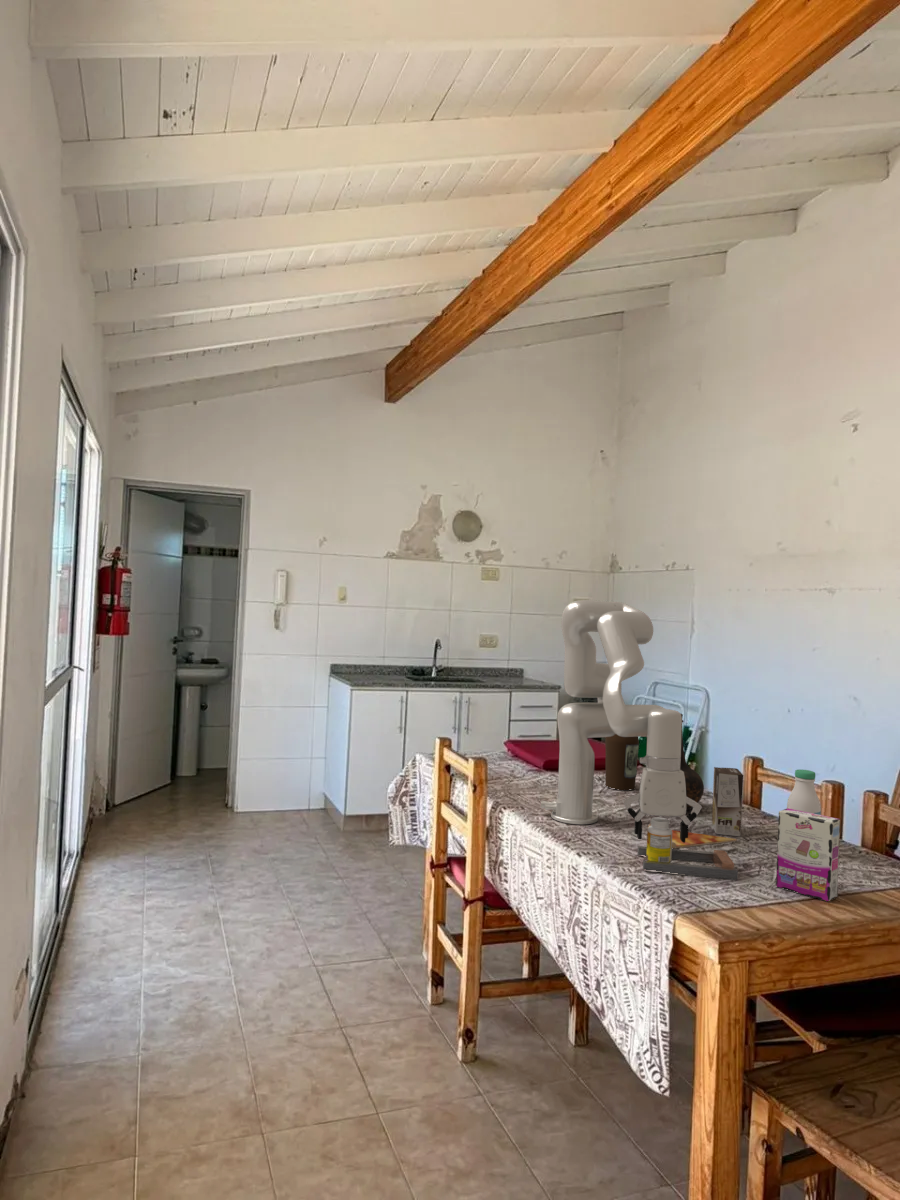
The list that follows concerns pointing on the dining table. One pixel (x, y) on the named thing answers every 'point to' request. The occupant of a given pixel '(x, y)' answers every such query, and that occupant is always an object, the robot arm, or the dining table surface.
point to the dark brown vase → (691, 779)
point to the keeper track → (717, 857)
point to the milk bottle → (804, 793)
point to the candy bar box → (808, 853)
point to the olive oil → (621, 762)
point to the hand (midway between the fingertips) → (660, 839)
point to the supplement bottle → (659, 841)
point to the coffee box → (727, 801)
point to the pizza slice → (696, 839)
